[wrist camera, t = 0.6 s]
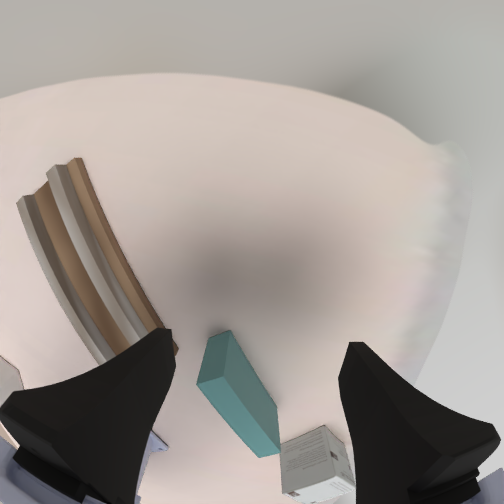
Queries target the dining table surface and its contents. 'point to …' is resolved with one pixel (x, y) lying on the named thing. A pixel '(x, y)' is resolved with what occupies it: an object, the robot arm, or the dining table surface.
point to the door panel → (239, 395)
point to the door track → (86, 263)
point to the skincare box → (315, 467)
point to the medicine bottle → (8, 380)
